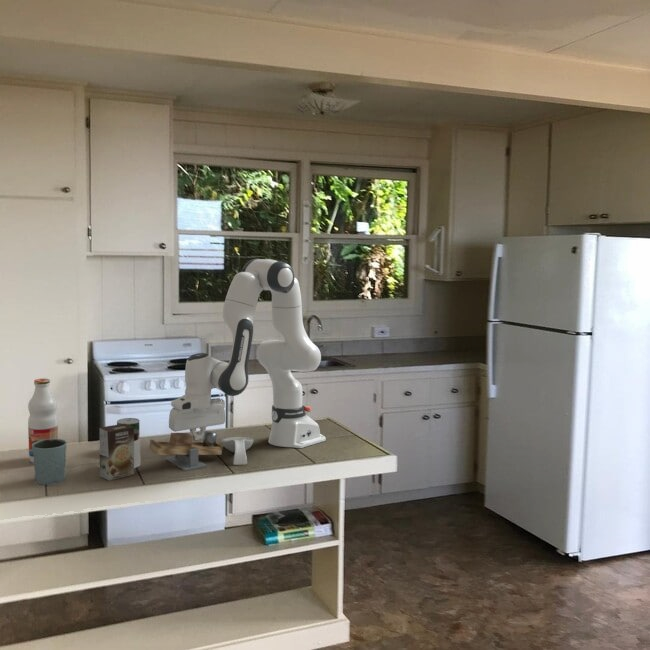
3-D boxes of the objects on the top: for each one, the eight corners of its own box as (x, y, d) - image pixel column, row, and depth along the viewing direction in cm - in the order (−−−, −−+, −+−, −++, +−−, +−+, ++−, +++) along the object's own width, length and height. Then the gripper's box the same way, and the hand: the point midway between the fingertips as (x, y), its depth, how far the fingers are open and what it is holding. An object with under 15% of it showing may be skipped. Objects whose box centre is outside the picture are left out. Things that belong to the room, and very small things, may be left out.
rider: (185, 444, 245) (186, 433, 245) (191, 447, 241) (193, 436, 241) (169, 444, 241) (171, 432, 241) (175, 447, 237) (176, 436, 237)
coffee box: (109, 481, 224) (108, 431, 222) (99, 476, 228) (98, 427, 226) (135, 474, 231) (134, 426, 229) (124, 469, 235) (124, 422, 233)
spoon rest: (220, 445, 265) (220, 427, 264) (252, 444, 267) (252, 426, 266) (224, 466, 242) (224, 446, 241) (258, 465, 244) (258, 445, 243)
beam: (210, 448, 254) (211, 439, 254) (222, 455, 246) (224, 446, 246) (147, 448, 239) (149, 438, 239) (159, 455, 232) (160, 445, 232)
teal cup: (64, 473, 230) (64, 437, 229) (69, 482, 222) (68, 445, 220) (31, 477, 226) (30, 440, 224) (34, 487, 217) (33, 449, 215)
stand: (187, 455, 251) (187, 438, 250) (206, 466, 240) (206, 448, 239) (166, 459, 246) (166, 441, 245) (184, 470, 235) (184, 452, 234)
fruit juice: (64, 460, 243) (62, 379, 240) (37, 466, 236) (35, 384, 232) (49, 454, 249) (47, 375, 246) (23, 460, 242) (21, 379, 238)
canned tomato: (137, 453, 252) (137, 423, 250) (114, 453, 251) (114, 423, 250) (141, 447, 260) (141, 417, 258) (119, 447, 259) (119, 417, 258)
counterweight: (211, 444, 251) (213, 431, 251) (217, 448, 247) (219, 433, 247) (200, 444, 248) (202, 430, 248) (206, 447, 245) (208, 433, 245)
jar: (125, 460, 244) (125, 426, 243) (144, 464, 241) (144, 429, 240) (107, 468, 236) (107, 433, 235) (127, 471, 233) (127, 436, 231)
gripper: (220, 395, 252) (219, 433, 254) (166, 402, 239) (166, 442, 241) (229, 399, 247) (228, 437, 249) (174, 406, 234) (174, 446, 236)
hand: (197, 439), depth 245 cm, fingers closed
